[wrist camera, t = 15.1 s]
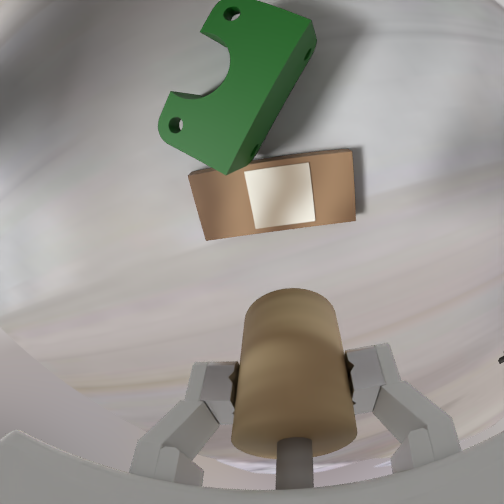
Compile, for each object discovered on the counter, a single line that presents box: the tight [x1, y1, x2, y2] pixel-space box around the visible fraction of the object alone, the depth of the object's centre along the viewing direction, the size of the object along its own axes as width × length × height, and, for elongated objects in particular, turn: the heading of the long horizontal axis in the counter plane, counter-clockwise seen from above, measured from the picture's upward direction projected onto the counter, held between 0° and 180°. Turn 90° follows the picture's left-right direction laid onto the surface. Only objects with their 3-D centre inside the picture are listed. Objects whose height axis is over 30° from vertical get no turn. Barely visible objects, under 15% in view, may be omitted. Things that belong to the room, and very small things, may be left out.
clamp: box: [158, 0, 317, 175], centre depth 17 cm, size 12×6×9 cm, turn 147°
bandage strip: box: [188, 149, 356, 241], centre depth 23 cm, size 13×6×1 cm, turn 101°
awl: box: [231, 288, 357, 490], centre depth 7 cm, size 4×4×9 cm
